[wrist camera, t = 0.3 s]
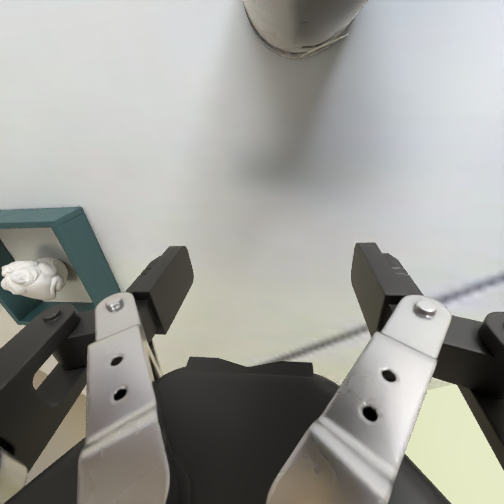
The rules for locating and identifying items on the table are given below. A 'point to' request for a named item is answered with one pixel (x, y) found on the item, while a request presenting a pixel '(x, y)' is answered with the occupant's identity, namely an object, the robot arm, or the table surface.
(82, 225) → the open box
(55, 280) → the white rounded figurine
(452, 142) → the table surface
